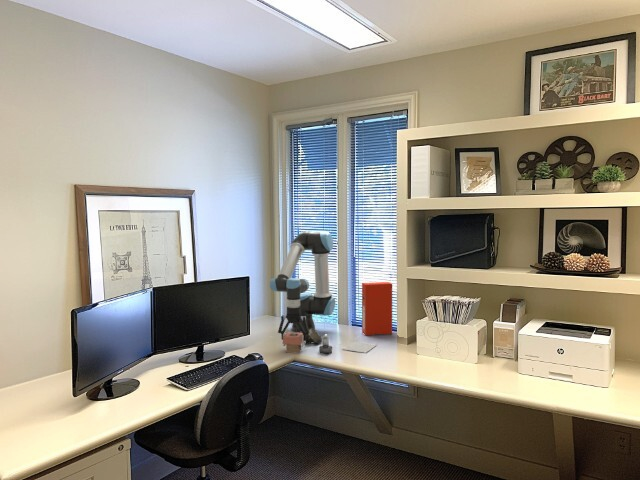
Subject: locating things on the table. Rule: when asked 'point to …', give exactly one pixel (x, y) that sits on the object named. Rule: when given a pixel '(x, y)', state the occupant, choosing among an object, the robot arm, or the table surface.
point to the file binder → (377, 308)
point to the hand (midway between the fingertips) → (293, 346)
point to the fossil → (313, 337)
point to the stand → (293, 347)
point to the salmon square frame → (292, 338)
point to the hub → (325, 346)
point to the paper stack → (359, 347)
